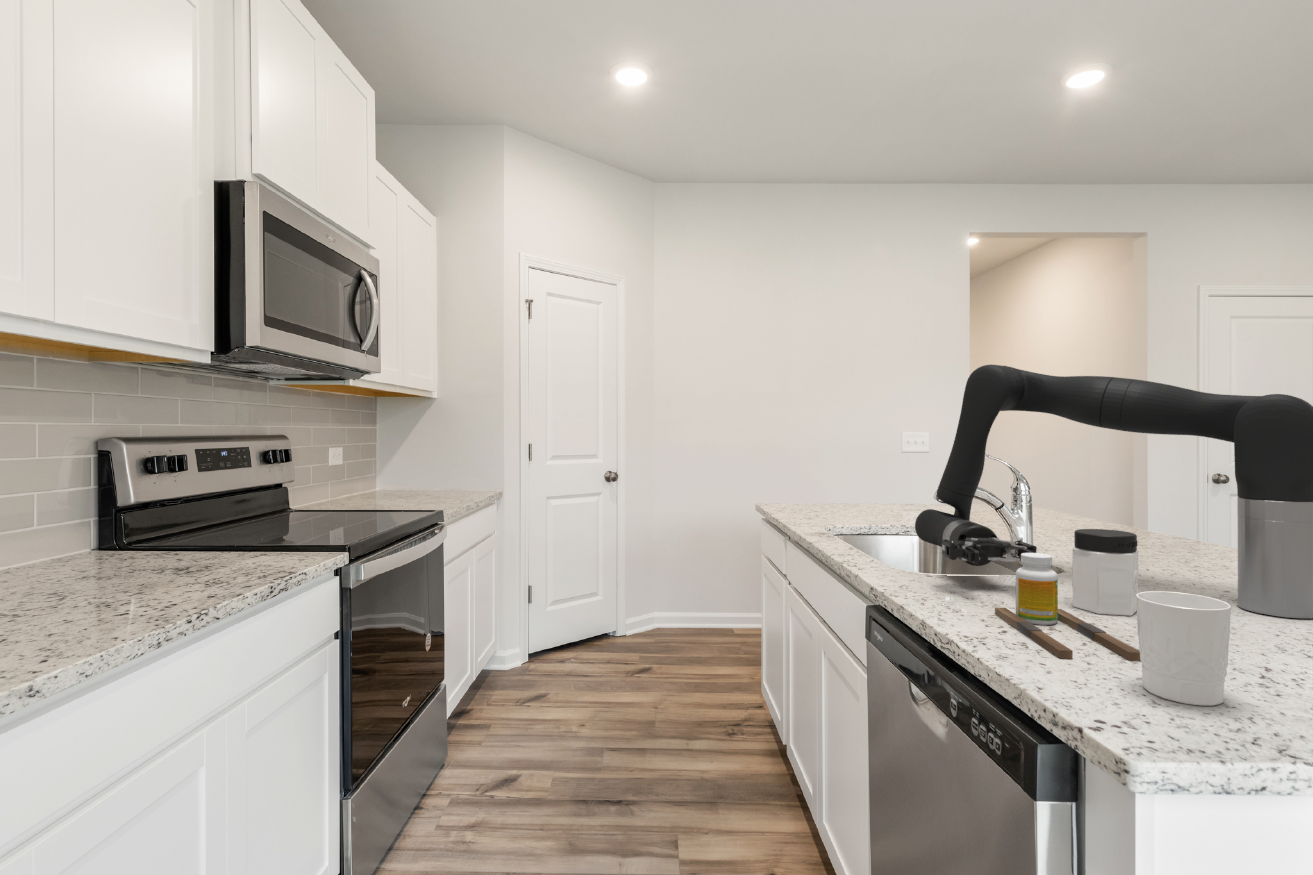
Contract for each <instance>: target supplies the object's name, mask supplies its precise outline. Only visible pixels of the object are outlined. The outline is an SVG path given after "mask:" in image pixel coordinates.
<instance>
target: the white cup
mask: <svg viewBox="0 0 1313 875" xmlns="http://www.w3.org/2000/svg"><path fill="white" fill-rule="evenodd" d="M1136 605H1137V611H1136V618H1137V619H1136V620H1137V621H1136V622H1137V636H1138V647H1139V651H1140V660H1141V661H1140V662H1141V673H1142V674H1141V676H1142V687H1143V689H1145V690H1146V691H1147V692H1148V693H1151V694H1152V695H1155V696H1157V697H1159V698H1161V699H1165V700H1169V701H1171V702H1176V703H1178V704H1179V703H1180V704H1187V705H1191V706H1192V705H1193V706H1203V707H1205V706H1207V707H1208V706H1210V707H1212V706H1217V705H1221V704H1223V703H1224V698H1225V697H1224V696H1225V695H1224V694H1225V681H1226V679H1225V678H1226V677H1227V675H1228V670H1227V668H1228V663H1229V651H1230V650H1229V648H1230V647H1229V646H1230V637H1231V636H1230V633H1231V631H1230V630H1231V618H1232V617H1231V614H1232V605H1231V604H1230V603H1228V602H1226V601H1224V600H1221V599H1218V598H1214V597H1210V596H1206V595H1200V594H1194V593H1193V594H1192V593H1187V592H1179V591H1169V590H1168V591H1164V590H1148V591H1140V592H1138V593H1137V594H1136Z"/></svg>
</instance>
